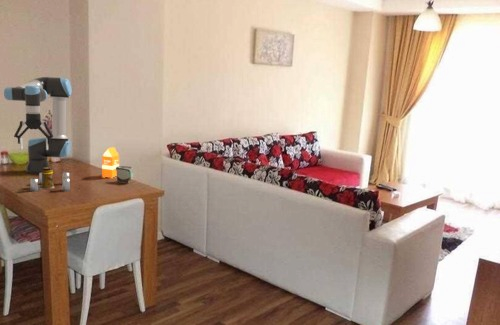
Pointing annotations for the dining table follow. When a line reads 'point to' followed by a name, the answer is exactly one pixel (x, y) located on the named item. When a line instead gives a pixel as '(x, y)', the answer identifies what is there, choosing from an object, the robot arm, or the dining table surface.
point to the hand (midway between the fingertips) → (34, 149)
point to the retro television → (123, 174)
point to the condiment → (47, 178)
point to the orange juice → (110, 163)
